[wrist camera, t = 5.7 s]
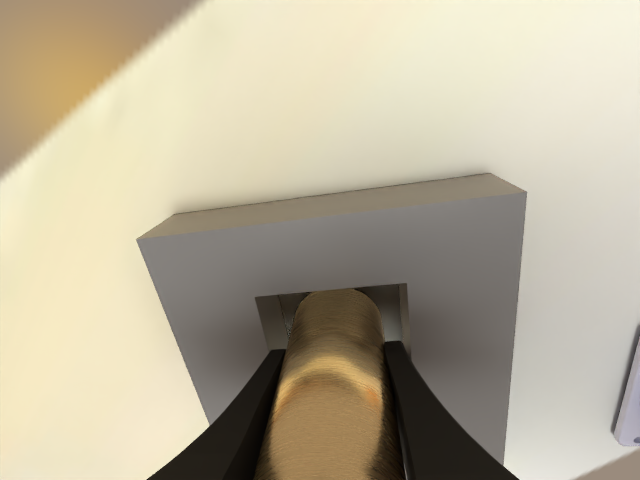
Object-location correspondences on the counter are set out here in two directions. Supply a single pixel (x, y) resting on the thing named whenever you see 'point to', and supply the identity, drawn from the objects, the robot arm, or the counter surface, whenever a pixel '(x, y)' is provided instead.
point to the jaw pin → (333, 397)
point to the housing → (354, 284)
